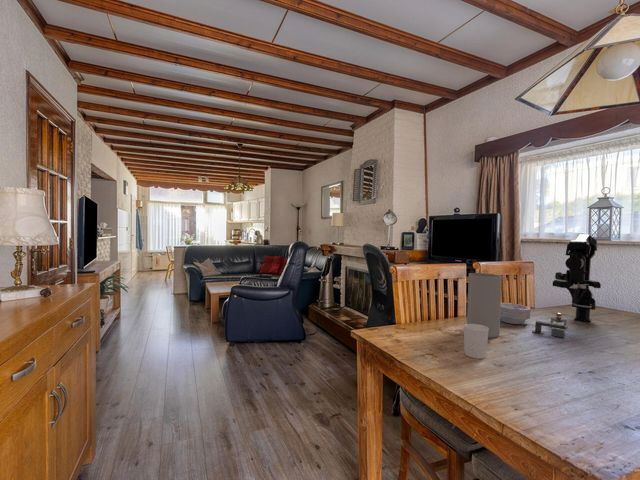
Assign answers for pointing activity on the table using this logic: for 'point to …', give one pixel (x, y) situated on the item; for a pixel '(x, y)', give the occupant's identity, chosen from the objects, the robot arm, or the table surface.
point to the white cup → (475, 340)
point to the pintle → (559, 316)
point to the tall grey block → (485, 301)
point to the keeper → (540, 324)
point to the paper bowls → (514, 313)
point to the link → (556, 330)
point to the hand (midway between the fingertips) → (575, 303)
